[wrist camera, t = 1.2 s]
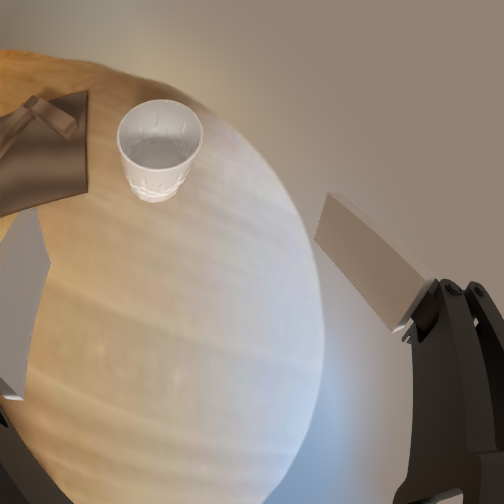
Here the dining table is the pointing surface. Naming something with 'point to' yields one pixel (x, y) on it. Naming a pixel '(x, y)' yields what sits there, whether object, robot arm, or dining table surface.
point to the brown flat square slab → (43, 152)
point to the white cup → (158, 147)
